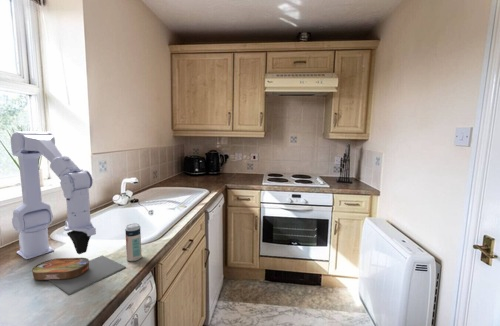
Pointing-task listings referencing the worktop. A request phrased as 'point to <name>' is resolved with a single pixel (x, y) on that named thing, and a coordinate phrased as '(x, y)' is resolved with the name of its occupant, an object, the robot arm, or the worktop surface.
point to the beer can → (133, 242)
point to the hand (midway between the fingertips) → (81, 252)
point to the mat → (89, 275)
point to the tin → (60, 268)
